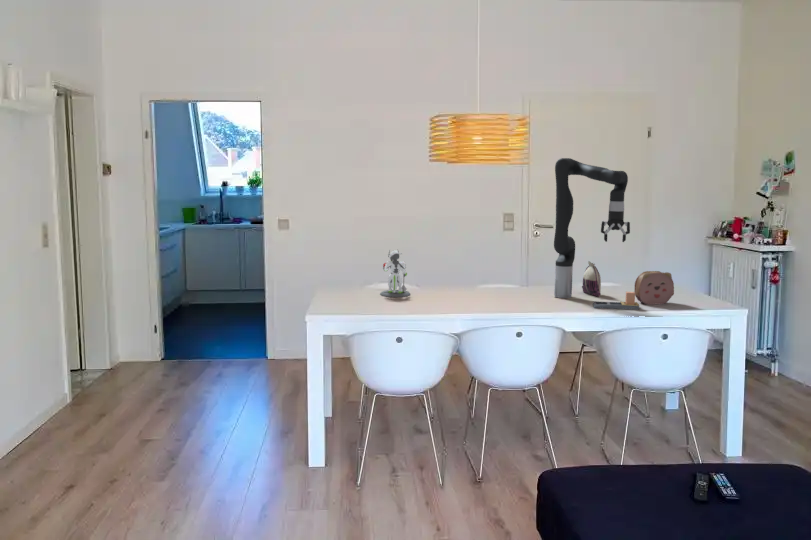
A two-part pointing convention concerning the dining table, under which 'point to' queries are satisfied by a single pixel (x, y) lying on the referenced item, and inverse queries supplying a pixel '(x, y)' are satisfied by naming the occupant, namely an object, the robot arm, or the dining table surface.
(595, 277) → the pouch
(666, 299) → the face sculpture
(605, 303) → the rail
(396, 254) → the figurine
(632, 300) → the block
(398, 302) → the dining table surface
